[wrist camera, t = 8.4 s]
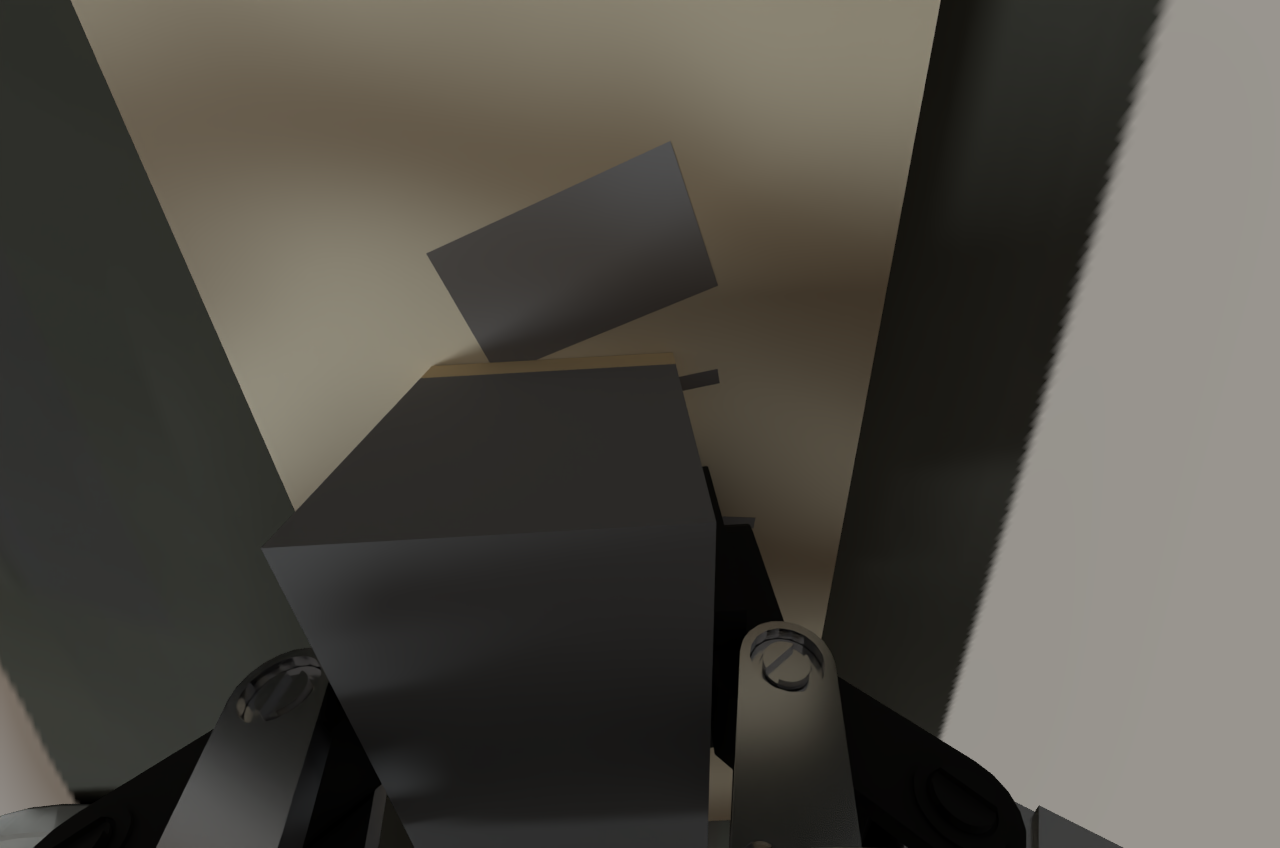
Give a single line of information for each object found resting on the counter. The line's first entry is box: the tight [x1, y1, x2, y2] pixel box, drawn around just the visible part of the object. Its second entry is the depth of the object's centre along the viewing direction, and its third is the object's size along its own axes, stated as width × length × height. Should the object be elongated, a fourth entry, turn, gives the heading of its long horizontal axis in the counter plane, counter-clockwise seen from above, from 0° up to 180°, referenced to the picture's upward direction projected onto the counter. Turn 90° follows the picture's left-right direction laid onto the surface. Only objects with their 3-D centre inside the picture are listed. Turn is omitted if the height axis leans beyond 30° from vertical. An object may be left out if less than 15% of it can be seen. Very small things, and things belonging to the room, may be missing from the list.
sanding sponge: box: [261, 352, 716, 848], centre depth 9 cm, size 8×4×5 cm, turn 3°
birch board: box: [71, 0, 941, 821], centre depth 12 cm, size 24×12×2 cm, turn 2°
